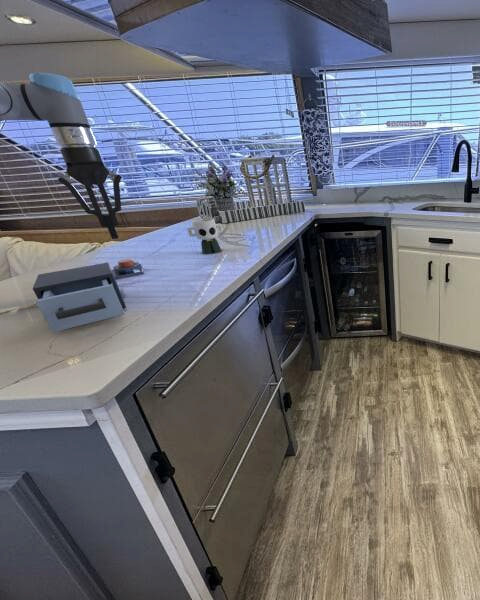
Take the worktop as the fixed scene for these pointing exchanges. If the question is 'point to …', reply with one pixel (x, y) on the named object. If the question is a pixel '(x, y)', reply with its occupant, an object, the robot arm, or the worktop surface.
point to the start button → (126, 263)
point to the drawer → (79, 304)
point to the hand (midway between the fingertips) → (115, 238)
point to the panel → (127, 271)
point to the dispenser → (76, 279)
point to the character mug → (206, 234)
